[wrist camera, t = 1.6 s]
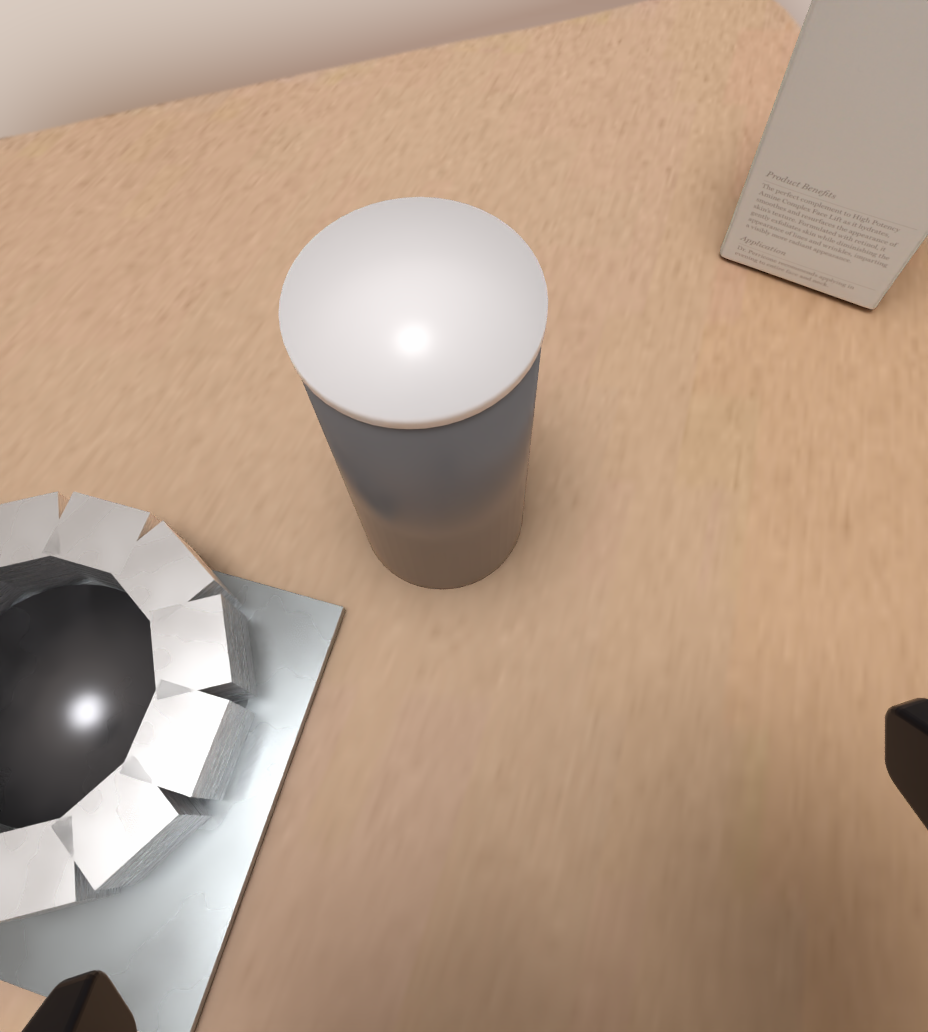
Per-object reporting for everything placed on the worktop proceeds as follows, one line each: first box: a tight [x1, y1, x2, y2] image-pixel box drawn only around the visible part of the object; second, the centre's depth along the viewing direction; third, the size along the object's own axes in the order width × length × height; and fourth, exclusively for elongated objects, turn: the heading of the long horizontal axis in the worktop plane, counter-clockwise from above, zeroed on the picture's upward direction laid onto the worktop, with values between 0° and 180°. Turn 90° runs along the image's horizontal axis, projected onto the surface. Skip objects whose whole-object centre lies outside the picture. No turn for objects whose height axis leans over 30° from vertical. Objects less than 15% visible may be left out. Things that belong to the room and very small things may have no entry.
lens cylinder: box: [279, 197, 548, 589], centre depth 20 cm, size 5×5×11 cm
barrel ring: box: [0, 492, 345, 1032], centre depth 22 cm, size 16×13×3 cm
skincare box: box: [720, 0, 928, 309], centre depth 23 cm, size 6×4×12 cm
